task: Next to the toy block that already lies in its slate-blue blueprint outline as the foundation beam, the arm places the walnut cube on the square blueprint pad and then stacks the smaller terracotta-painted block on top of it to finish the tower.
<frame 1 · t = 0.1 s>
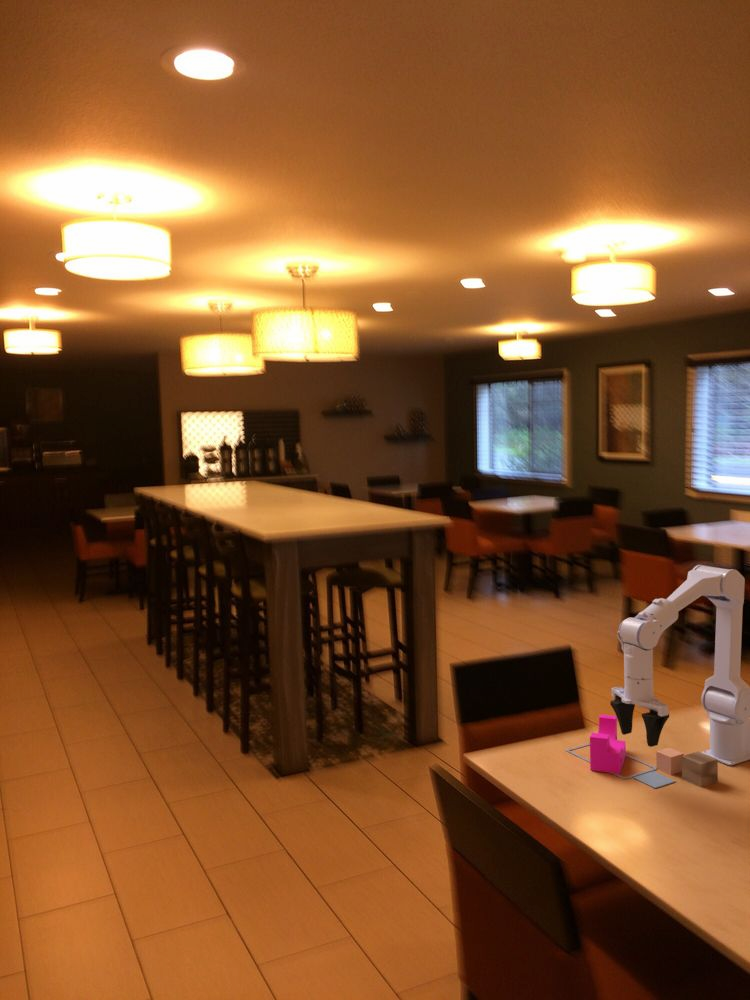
hand: (639, 739, 165), 10 cm above the table, fingers open, 7 cm apart
blueprint outline: (654, 780, 168), on the table
walnut cube: (699, 780, 167), on the table
toy block: (609, 759, 180), on the table, touching blueprint outline
terracotta block: (670, 770, 173), on the table
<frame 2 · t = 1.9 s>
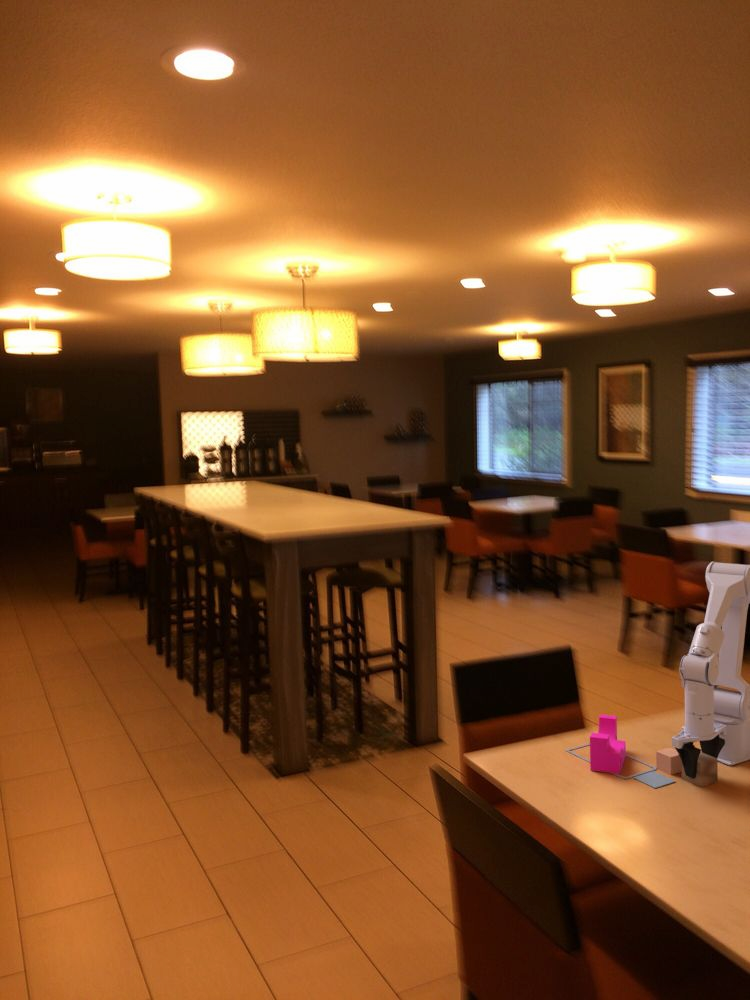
hand: (699, 773, 167), 1 cm above the table, fingers closed on walnut cube, 5 cm apart
walnut cube: (699, 780, 167), on the table, touching gripper
everything else where it was.
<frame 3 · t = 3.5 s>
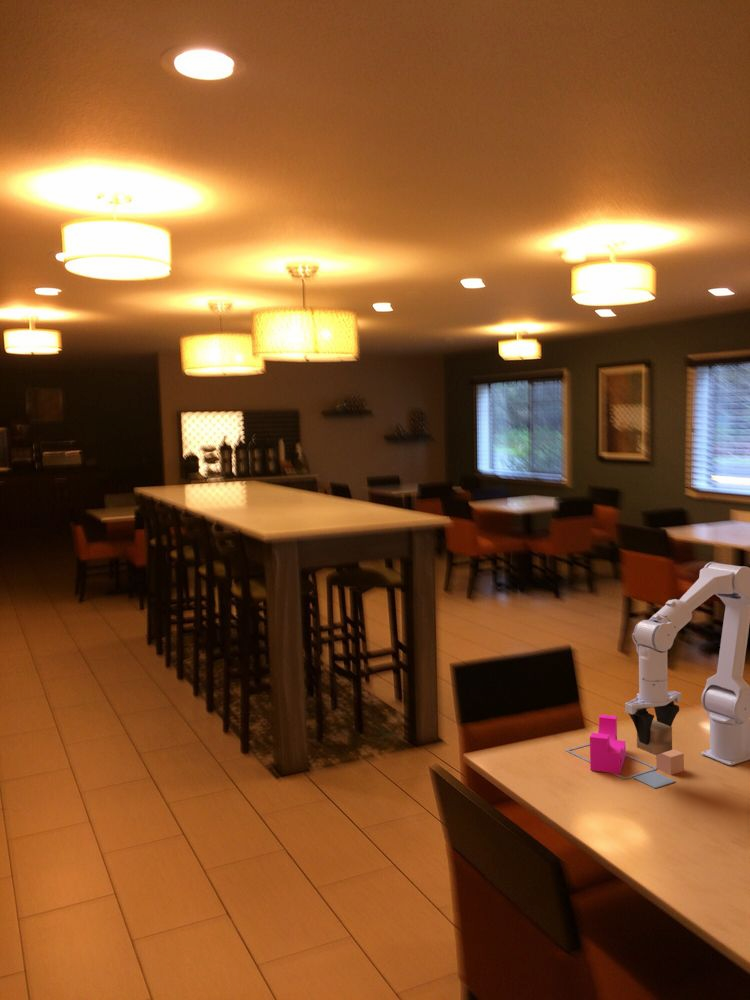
hand: (653, 740, 167), 9 cm above the table, fingers closed on walnut cube, 5 cm apart
walnut cube: (654, 748, 167), point 7 cm above the table, touching gripper
everything else where it was.
when the fingers open (3 cm above the table, at t = 5.1 s): walnut cube stays where it is, resting on blueprint outline.
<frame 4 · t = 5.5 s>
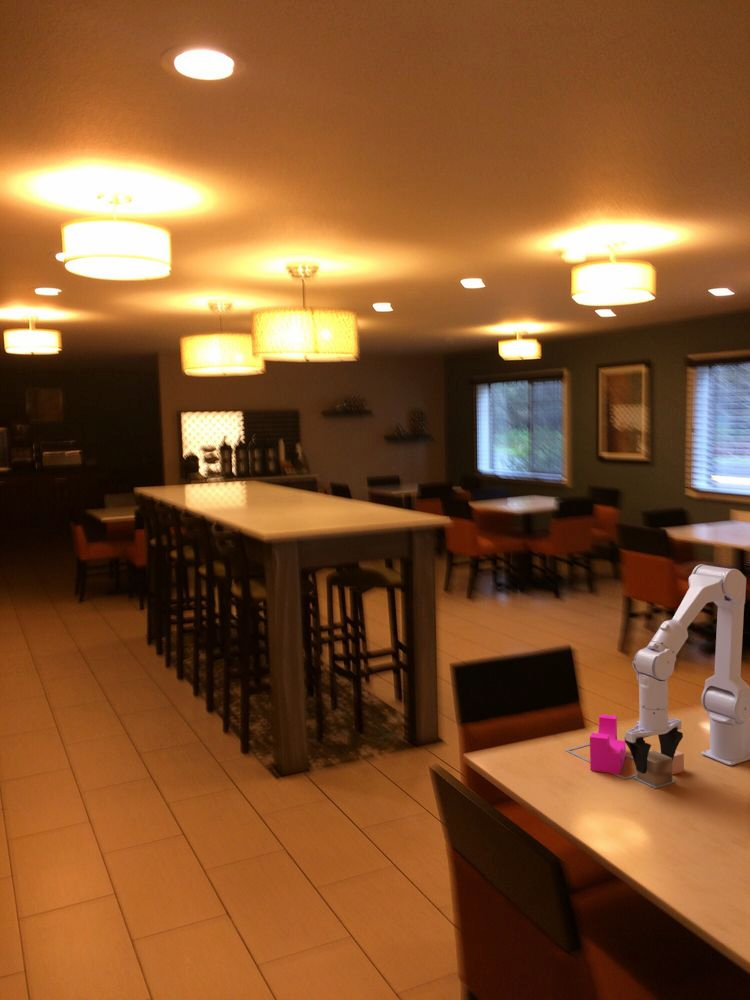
hand: (654, 767, 168), 3 cm above the table, fingers open, 7 cm apart
walnut cube: (654, 779, 168), resting on blueprint outline
everything else where it was.
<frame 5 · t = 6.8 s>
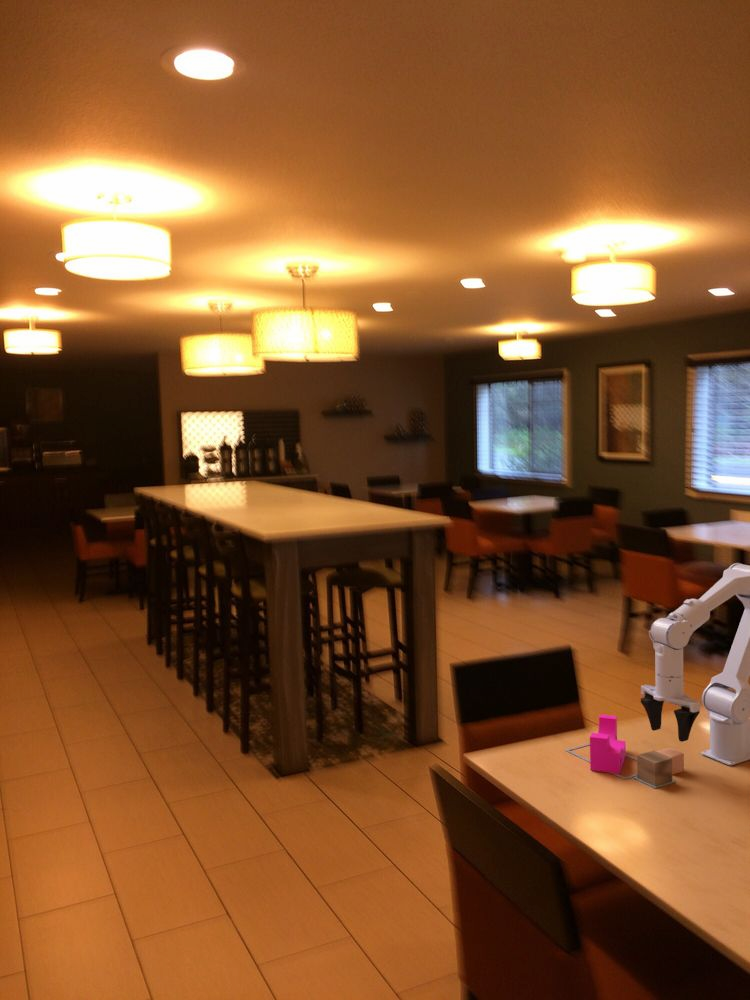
hand: (669, 734, 172), 8 cm above the table, fingers open, 7 cm apart
nothing on the table moved.
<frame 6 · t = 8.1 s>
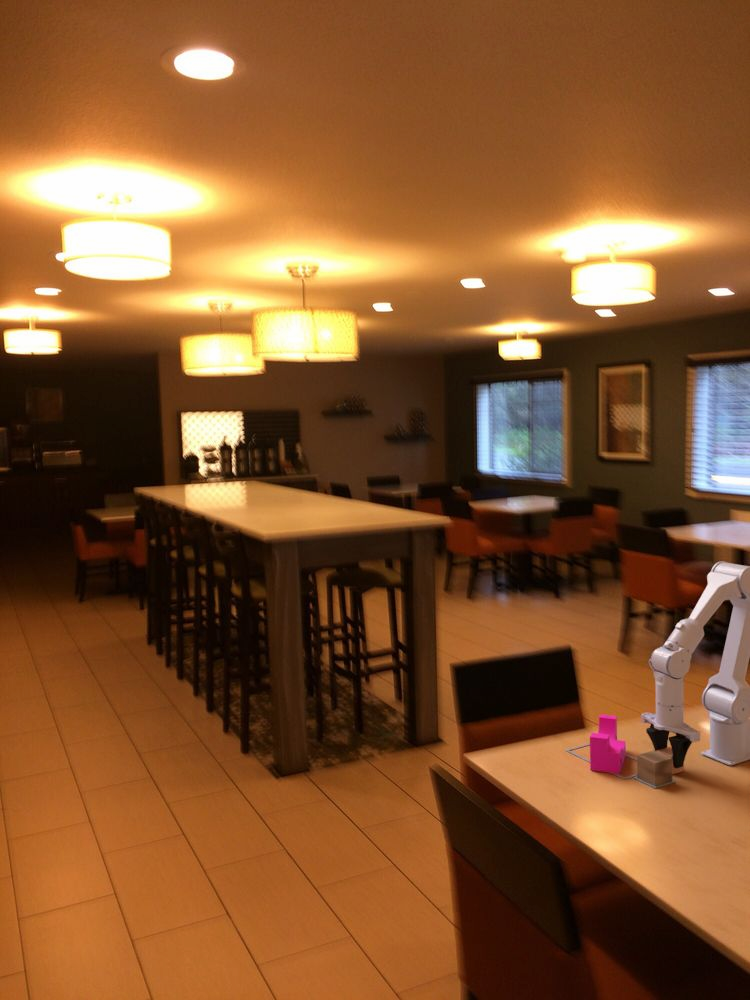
hand: (670, 763, 173), 1 cm above the table, fingers closed on terracotta block, 4 cm apart
terracotta block: (670, 769, 173), on the table, touching gripper
everything else where it was.
when the fingers open (8 cm above the table, at t = 10.0 s): terracotta block stays where it is, resting on walnut cube.
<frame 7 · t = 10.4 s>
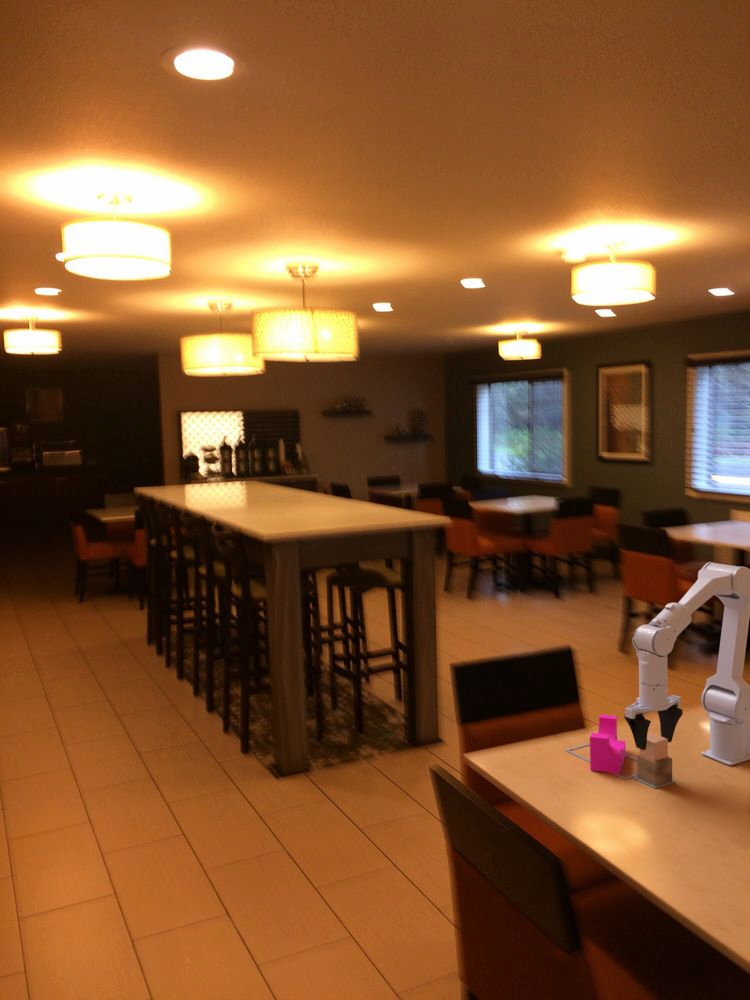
hand: (653, 744, 167), 8 cm above the table, fingers open, 7 cm apart
walnut cube: (654, 779, 168), resting on blueprint outline, touching terracotta block
terracotta block: (653, 756, 168), point 5 cm above the table, touching walnut cube
everything else where it was.
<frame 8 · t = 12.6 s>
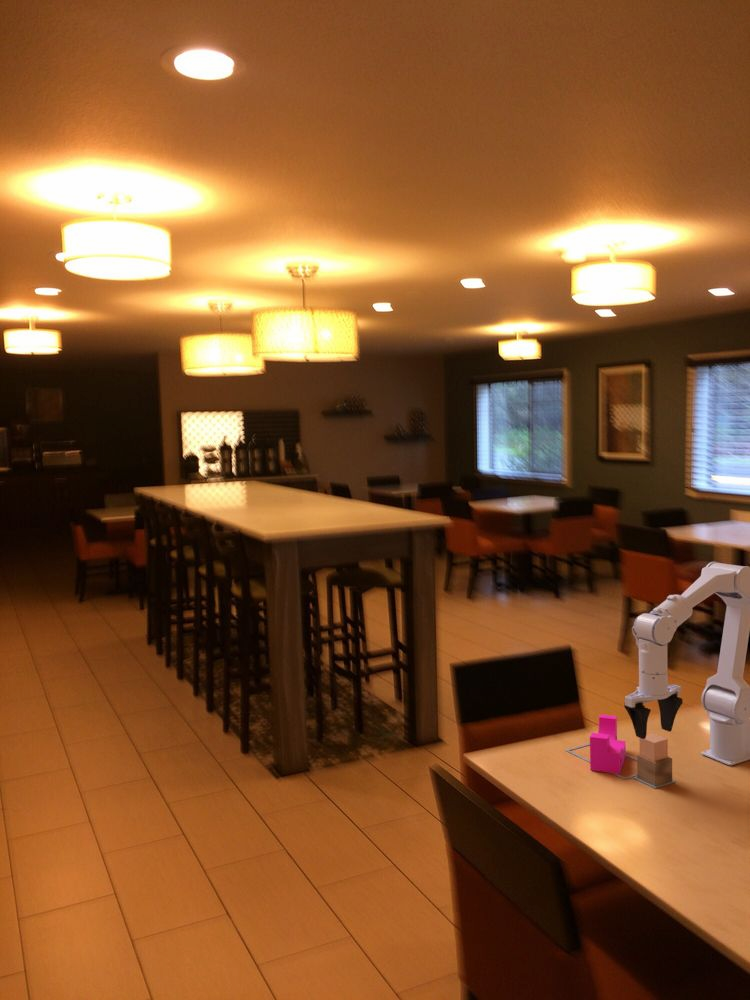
hand: (653, 733, 167), 10 cm above the table, fingers open, 7 cm apart
nothing on the table moved.
at the end: walnut cube 0.2 cm from the target spot, resting on blueprint outline; terracotta block 0.3 cm off-centre on the walnut cube, point 5.0 cm above the walnut cube's base; terracotta block tilted 0° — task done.
